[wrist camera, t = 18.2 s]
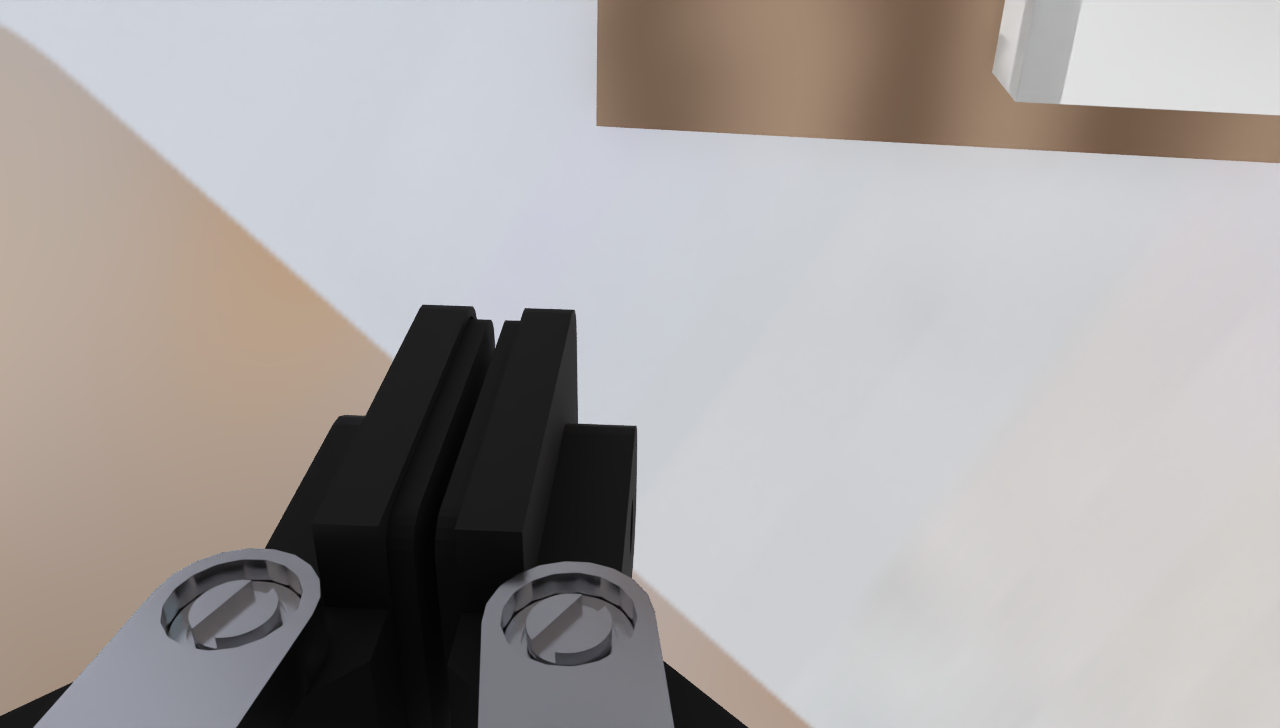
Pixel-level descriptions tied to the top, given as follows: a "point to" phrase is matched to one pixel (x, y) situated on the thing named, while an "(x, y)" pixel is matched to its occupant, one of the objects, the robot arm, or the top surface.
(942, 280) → the top surface
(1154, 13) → the cover
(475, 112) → the top surface
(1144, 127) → the board
